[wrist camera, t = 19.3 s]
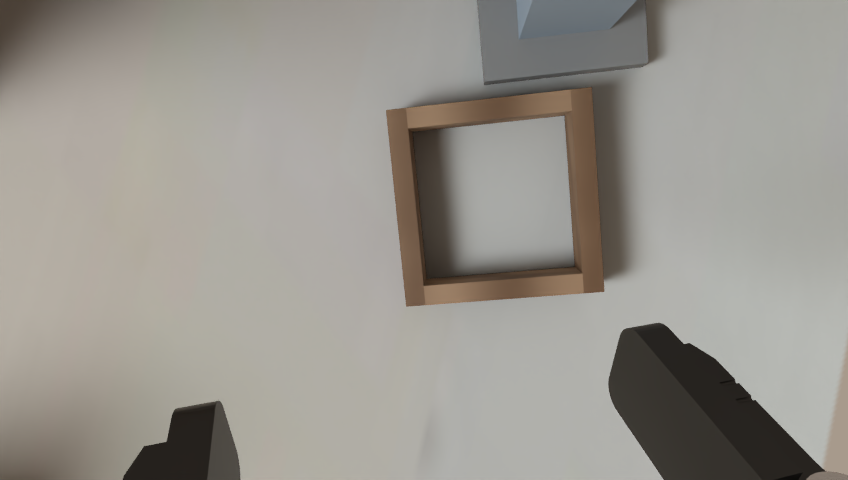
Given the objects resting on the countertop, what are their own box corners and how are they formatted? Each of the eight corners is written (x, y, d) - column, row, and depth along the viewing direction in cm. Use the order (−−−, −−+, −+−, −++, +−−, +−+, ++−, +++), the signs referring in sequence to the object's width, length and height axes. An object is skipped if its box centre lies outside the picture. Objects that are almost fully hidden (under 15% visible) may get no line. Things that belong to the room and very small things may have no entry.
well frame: (410, 297, 29) (406, 306, 27) (392, 115, 28) (385, 110, 26) (595, 283, 28) (604, 291, 26) (583, 93, 27) (591, 87, 25)
